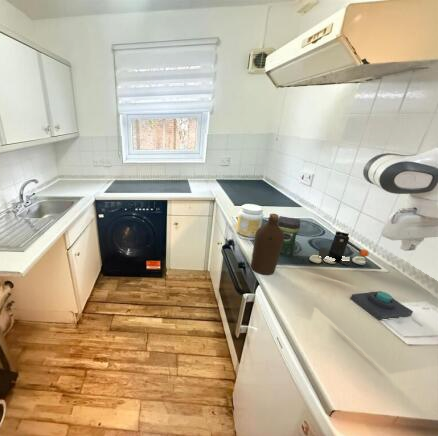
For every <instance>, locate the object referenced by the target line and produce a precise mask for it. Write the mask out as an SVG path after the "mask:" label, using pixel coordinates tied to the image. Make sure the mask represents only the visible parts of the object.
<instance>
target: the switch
mask: <svg viewBox="0 0 438 436" xmlns="http://www.w3.org/2000/svg"><path fill="white" fill-rule="evenodd" d="M339 235H342V236H344V235H343V234H341V233H340V234H339ZM347 246H350V248H351V247H352V248H353V249H354V250H355V251H357V252H358V255H359V256H360V257H362V258H366V257H368V256H370V255H369V254H370V252H369V251H368V249H361V247H359V246H357V245H355V244H354V243H353V242H351V241H350V240H348V243H347Z"/></svg>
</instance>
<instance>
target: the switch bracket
mask: <svg viewBox="0 0 438 436" xmlns="http://www.w3.org/2000/svg"><path fill="white" fill-rule="evenodd" d="M340 233H341V234H343V235H344V236H342V235H339V234H340ZM348 241H350V233H348V232H343V231H338V230H336V231H335V234H334V237H333V240H332V243H331V246H330V248H329V250H325V249H321V248H319V249H318V257H319V256H321V257H322V258H321V259H322V260H325V259H324V258H325V257H326V256H329V257H332V258H335V259H336V260H335V261H333V262H334V263H338V264H341V265H346V266H350V267H353V263H352V256H349V255H345V251H346V249H347V246H348V244H347V243H348ZM342 256H345V257H350V258H351V259H350V261H342V260H341V259H342Z"/></svg>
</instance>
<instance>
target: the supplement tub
mask: <svg viewBox="0 0 438 436" xmlns="http://www.w3.org/2000/svg"><path fill="white" fill-rule="evenodd" d="M263 212H264V208H263V207H262V206H261V205H258V204H253V203H245V204H242V205H241V207H240V210H239V212H238V217H237V223H236V230H235V234H236V236H237V237H238V238H240V239H242V240H246V241H254V240H255V234H256V232H257V230H258V229H259V228H260V227H261V226H263V220H264V213H263Z"/></svg>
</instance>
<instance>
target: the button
mask: <svg viewBox="0 0 438 436" xmlns="http://www.w3.org/2000/svg"><path fill="white" fill-rule="evenodd" d="M379 291H380V292H378V293H377V295H376V298H377V299H379V300H381V301H383V302H387V303H390V302H391V300H392V298H393V295H391V294H389V293H387V292H385V291H382V292H381V290H379Z"/></svg>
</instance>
